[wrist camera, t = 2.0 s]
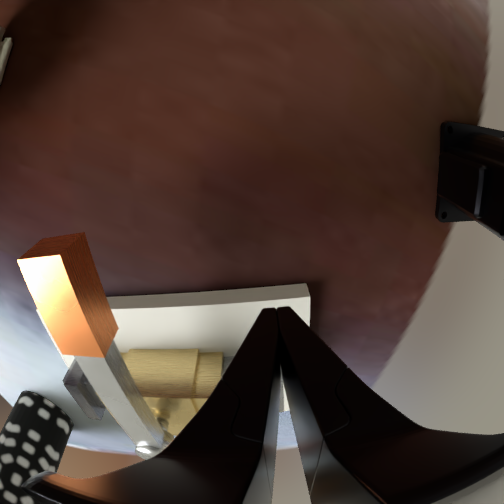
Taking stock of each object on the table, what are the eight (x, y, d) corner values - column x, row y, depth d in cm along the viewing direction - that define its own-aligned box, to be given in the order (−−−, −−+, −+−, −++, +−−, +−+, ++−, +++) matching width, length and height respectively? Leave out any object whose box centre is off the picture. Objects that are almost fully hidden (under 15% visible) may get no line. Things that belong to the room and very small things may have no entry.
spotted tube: (67, 435, 31) (33, 546, 13) (19, 404, 28) (-26, 511, 10) (78, 418, 28) (37, 553, 10) (22, 381, 25) (-36, 509, 7)
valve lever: (180, 430, 17) (175, 465, 14) (150, 428, 17) (142, 462, 15) (95, 222, 11) (59, 254, 8) (54, 228, 11) (17, 260, 8)
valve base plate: (306, 283, 19) (310, 296, 18) (303, 395, 24) (305, 408, 23) (44, 298, 20) (35, 309, 18) (98, 395, 25) (94, 406, 24)
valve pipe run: (279, 343, 19) (285, 394, 15) (281, 387, 21) (285, 433, 18) (72, 346, 20) (50, 385, 16) (95, 385, 22) (80, 423, 18)
